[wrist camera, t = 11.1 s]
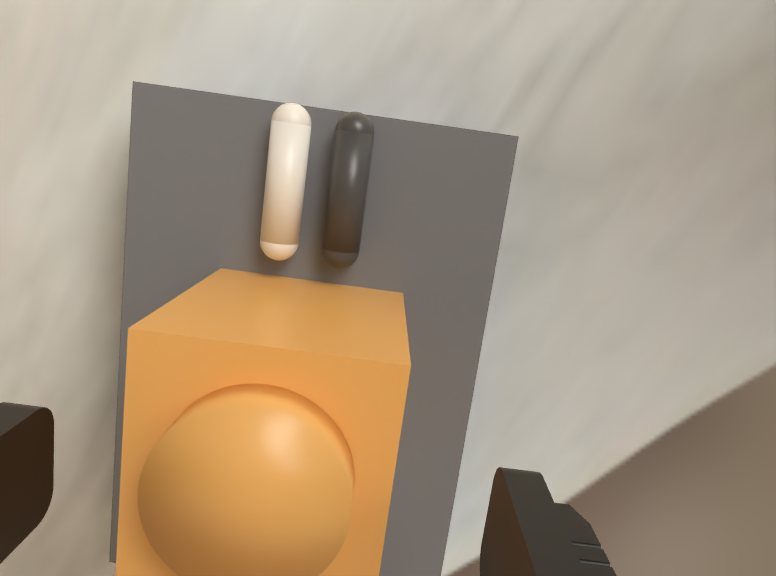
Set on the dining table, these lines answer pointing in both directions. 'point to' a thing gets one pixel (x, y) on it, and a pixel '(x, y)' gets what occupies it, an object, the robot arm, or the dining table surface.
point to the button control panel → (329, 251)
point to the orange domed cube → (262, 429)
